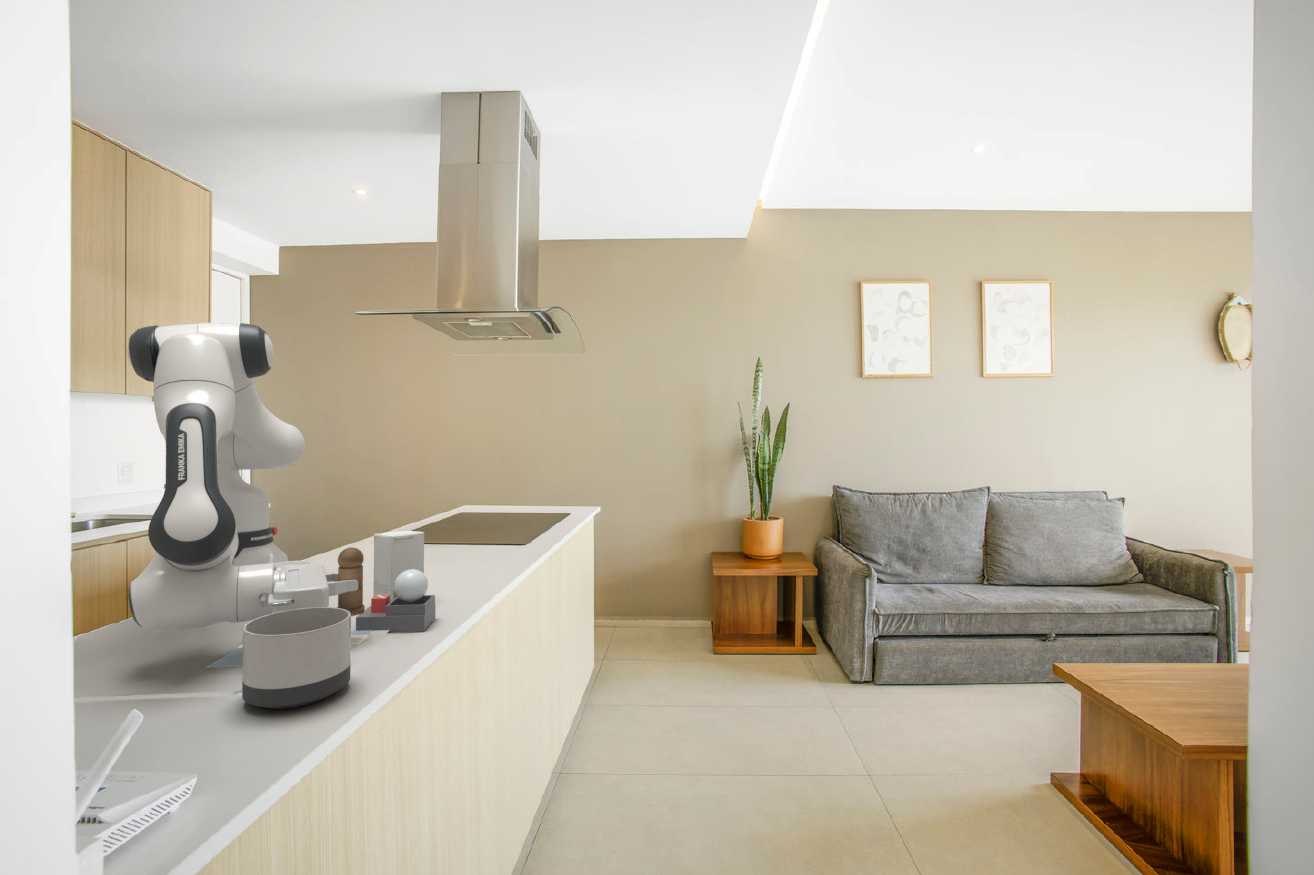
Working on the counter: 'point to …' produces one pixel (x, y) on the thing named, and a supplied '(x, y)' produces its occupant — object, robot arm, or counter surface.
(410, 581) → the ball
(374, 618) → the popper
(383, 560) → the skincare box
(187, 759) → the counter surface
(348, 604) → the brown pepper mill
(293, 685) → the planter
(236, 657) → the board
